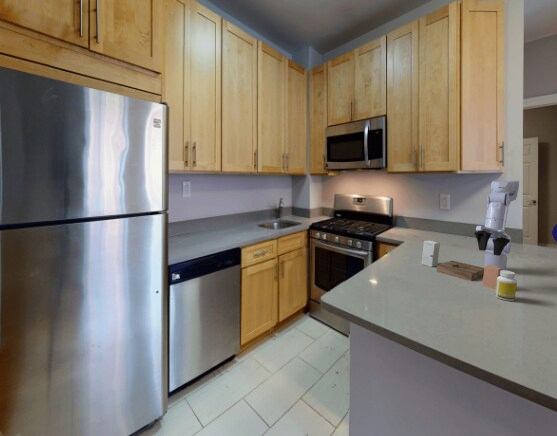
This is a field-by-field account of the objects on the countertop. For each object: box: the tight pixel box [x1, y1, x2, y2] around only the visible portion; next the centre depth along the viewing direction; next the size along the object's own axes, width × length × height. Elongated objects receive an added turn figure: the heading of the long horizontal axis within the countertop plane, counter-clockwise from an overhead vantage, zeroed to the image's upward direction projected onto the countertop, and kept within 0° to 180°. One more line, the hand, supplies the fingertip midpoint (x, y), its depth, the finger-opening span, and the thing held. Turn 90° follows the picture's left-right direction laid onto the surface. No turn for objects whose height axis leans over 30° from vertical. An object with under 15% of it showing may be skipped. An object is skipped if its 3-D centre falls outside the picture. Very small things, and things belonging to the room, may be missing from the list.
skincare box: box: [421, 240, 441, 268], centre depth 130 cm, size 6×4×12 cm
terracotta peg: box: [482, 265, 502, 290], centre depth 103 cm, size 4×4×8 cm
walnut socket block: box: [436, 260, 484, 282], centre depth 119 cm, size 14×14×3 cm
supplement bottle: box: [494, 269, 518, 302], centre depth 92 cm, size 5×5×10 cm
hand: (489, 252), depth 103 cm, fingers open, 7 cm apart
